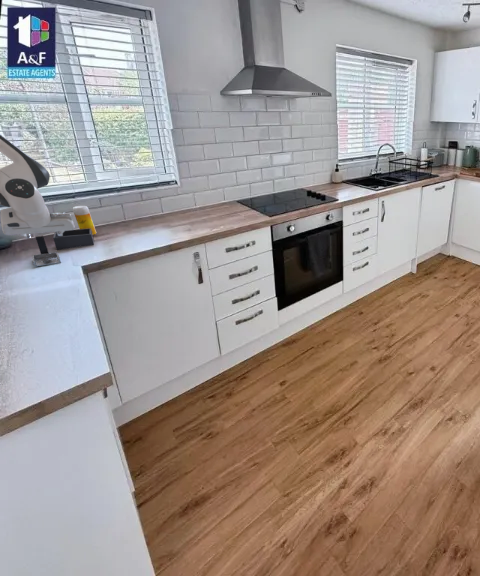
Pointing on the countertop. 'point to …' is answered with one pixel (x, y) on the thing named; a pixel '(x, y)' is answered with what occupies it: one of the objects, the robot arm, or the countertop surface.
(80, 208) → the glass of beer
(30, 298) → the countertop surface
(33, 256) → the grey square piece
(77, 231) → the bin
